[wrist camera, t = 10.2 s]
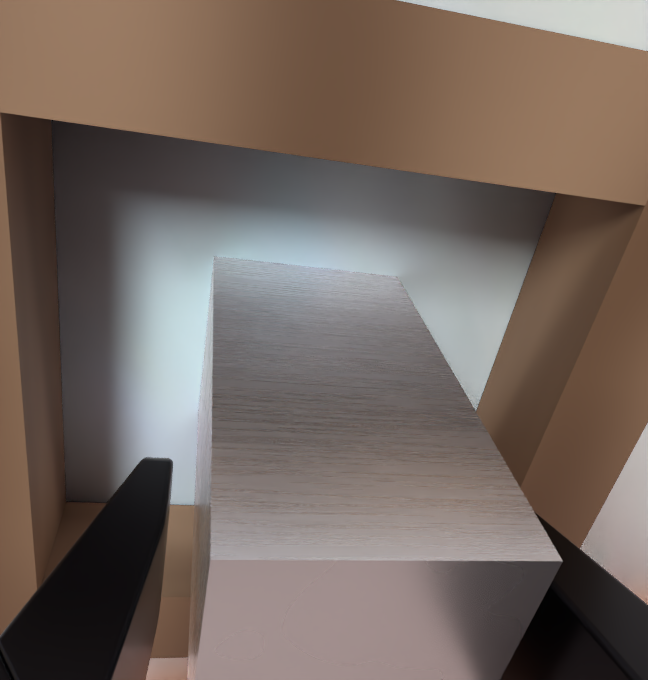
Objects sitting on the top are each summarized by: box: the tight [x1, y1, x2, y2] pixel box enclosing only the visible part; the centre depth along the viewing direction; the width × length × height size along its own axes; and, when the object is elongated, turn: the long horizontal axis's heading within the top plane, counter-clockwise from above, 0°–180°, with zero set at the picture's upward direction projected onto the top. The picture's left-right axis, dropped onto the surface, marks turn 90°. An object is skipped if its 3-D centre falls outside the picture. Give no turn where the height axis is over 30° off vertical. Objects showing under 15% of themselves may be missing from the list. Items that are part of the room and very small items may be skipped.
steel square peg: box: [187, 256, 563, 680], centre depth 10 cm, size 4×4×7 cm
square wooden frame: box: [0, 0, 648, 658], centre depth 12 cm, size 13×13×2 cm
